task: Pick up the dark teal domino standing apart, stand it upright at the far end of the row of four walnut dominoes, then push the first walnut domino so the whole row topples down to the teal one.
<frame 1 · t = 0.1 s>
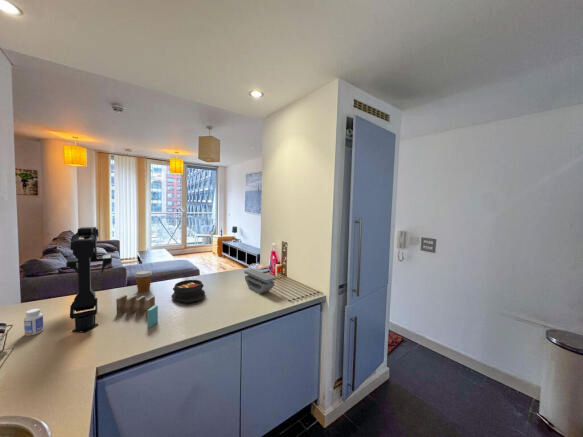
hand: (91, 274, 129), 15 cm above the worktop, tool pointing down, fingers open, 9 cm apart
domino 1: (122, 312, 118), on the worktop
pill bottle: (34, 332, 99), on the worktop
casserole: (188, 297, 139), on the worktop
domino 2: (131, 312, 118), on the worktop
disposable coffee cup: (143, 290, 148), on the worktop
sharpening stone: (258, 290, 153), on the worktop
domino 3: (140, 312, 118), on the worktop
domino 4: (150, 313, 118), on the worktop
teal domino: (152, 324, 107), on the worktop
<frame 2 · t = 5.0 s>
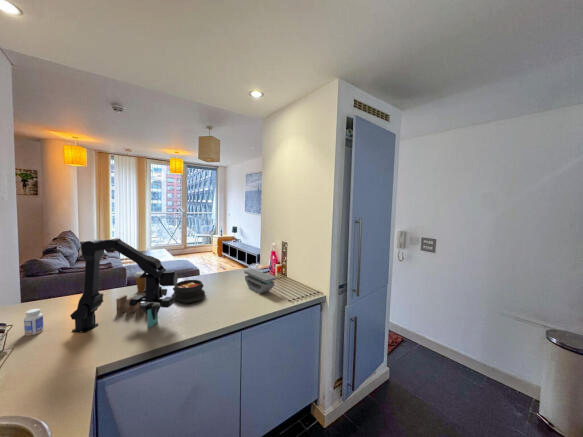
hand: (152, 319, 107), 3 cm above the worktop, tool pointing down, fingers closed on teal domino, 2 cm apart
teal domino: (152, 324, 107), on the worktop, touching gripper
everything else where it was.
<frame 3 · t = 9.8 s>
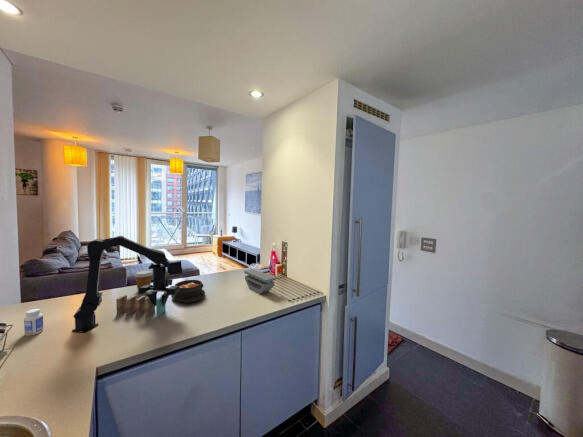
hand: (159, 306, 117), 4 cm above the worktop, tool pointing down, fingers open, 4 cm apart
domino 4: (150, 313, 118), on the worktop, touching gripper
teal domino: (161, 312, 119), on the worktop
everything else where it was.
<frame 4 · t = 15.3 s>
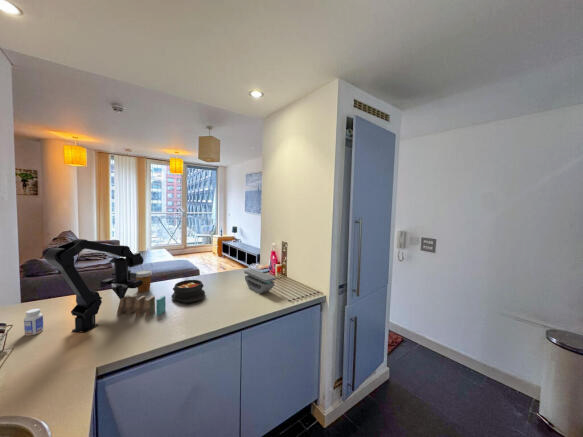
hand: (121, 299, 118), 7 cm above the worktop, tool pointing down, fingers closed
domino 1: (122, 311, 118), on the worktop, tilted 15°
domino 4: (150, 313, 118), on the worktop
everything else where it was.
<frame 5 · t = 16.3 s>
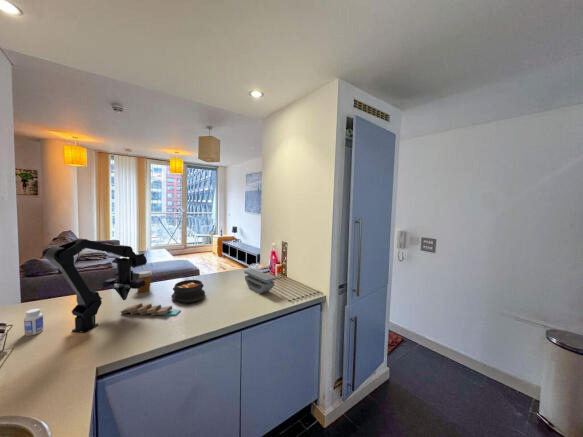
hand: (124, 299, 118), 6 cm above the worktop, tool pointing down, fingers closed
domino 1: (124, 310, 118), point 1 cm above the worktop, tilted 71°, touching domino 2
domino 2: (134, 311, 118), point 1 cm above the worktop, tilted 71°, touching domino 1, domino 3
domino 3: (143, 311, 118), point 1 cm above the worktop, tilted 74°, touching domino 2, domino 4
domino 4: (154, 312, 118), point 1 cm above the worktop, tilted 77°, touching domino 3, teal domino
teal domino: (162, 312, 119), on the worktop, tilted 90°, touching domino 4
everything else where it was.
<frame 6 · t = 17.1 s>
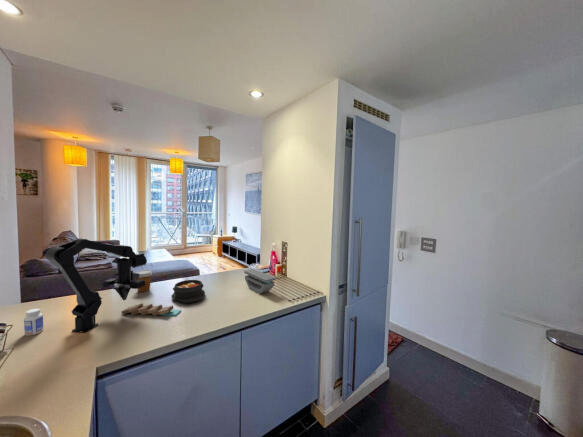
hand: (124, 299, 118), 6 cm above the worktop, tool pointing down, fingers closed
domino 3: (144, 311, 118), point 1 cm above the worktop, tilted 73°, touching domino 2
domino 4: (156, 312, 118), point 1 cm above the worktop, tilted 74°
teal domino: (163, 312, 119), on the worktop, tilted 90°
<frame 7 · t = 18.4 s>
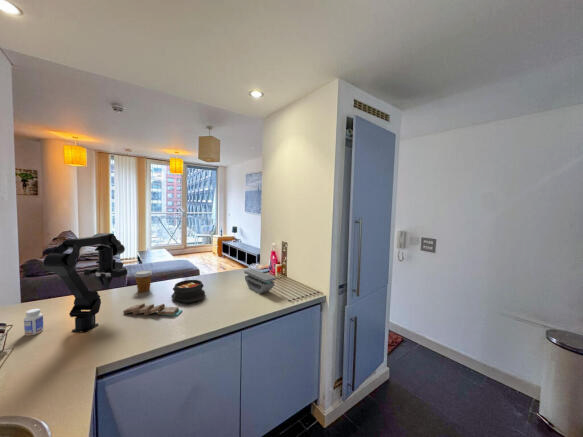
hand: (106, 289, 115), 13 cm above the worktop, tool pointing down, fingers closed
domino 3: (147, 311, 118), point 1 cm above the worktop, tilted 68°, touching domino 2, domino 4
domino 4: (160, 310, 118), point 2 cm above the worktop, tilted 90°, touching domino 3, teal domino
teal domino: (164, 312, 119), on the worktop, tilted 90°, touching domino 4
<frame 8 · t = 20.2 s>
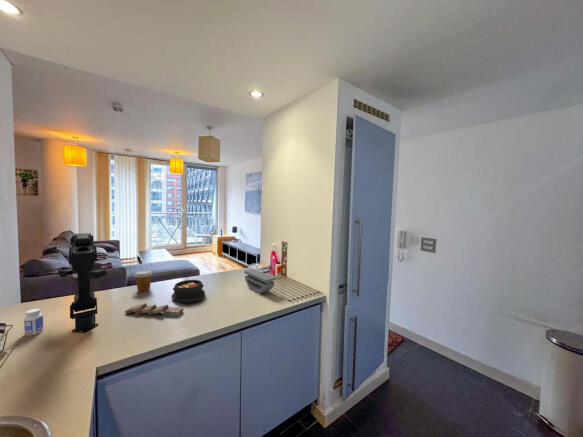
hand: (84, 290, 112), 13 cm above the worktop, tool pointing down, fingers closed
domino 2: (138, 311, 118), point 1 cm above the worktop, tilted 75°, touching domino 1
domino 3: (151, 311, 118), point 1 cm above the worktop, tilted 71°, touching domino 4
domino 4: (165, 310, 118), point 2 cm above the worktop, tilted 90°, touching domino 3, teal domino
at the end: teal domino tilted 90°; teal domino inside the target area (1.2 cm from its centre), on the worktop; domino 4 tilted 90° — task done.
